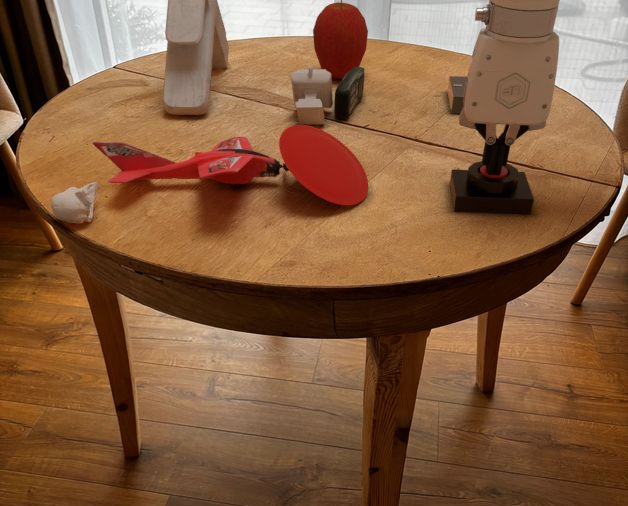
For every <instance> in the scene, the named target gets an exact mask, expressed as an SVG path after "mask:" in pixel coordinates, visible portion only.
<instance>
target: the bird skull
mask: <svg viewBox="0 0 628 506" xmlns="http://www.w3.org/2000/svg"><path fill="white" fill-rule="evenodd" d="M97 190H101V186H100V184H99V183H98V182H96V181H93V182H91V183H88V184H85V185H83V186H82V187H80V188H78V187H76V186H70V187H68V188H67V189H66V190H65V191H62V192H60V193H59V192H58V193H57V194H55V195H53V196H52V198H51V199H50V207H51V209H52V210H51V211H52V214H53V216H55V218H56V219H58V220H60V221H62V222H65V223H68V224H83V223H84V222H86V223H91V222H92V220H93V215H94V206H95V201H96V199H97V195H98V191H97Z"/></svg>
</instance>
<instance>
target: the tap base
mask: <svg viewBox="0 0 628 506" xmlns="http://www.w3.org/2000/svg"><path fill="white" fill-rule="evenodd" d="M466 80H467V76H458V75H455V76H453V75H450V76H449V77H448V85H447V98H448V105H449V109H450V114H452V115H460V113H461V111H462V108H463V106H464V105H463V97H464V90H465V85H466Z"/></svg>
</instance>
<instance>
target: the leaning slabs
mask: <svg viewBox="0 0 628 506" xmlns="http://www.w3.org/2000/svg"><path fill="white" fill-rule="evenodd" d="M165 21H166V22H165V31H164V34H165V40H166V42H167V43H166V56H165V66H164V67H165V68H164V79H163V90H162V91H163V92H162V100H161V101H162V105H163V109H164V110H165V111H166V112H167V114H170V115H175V116H177V115H178V116H180V115H181V116H201V115H204V114H205V113H207V111H208V110H209V107H210V96H211V85H212V69H228V68H229V67H228V65H229V50H230V45H229V42H228V39H227V31H226V27H225V24H224V21H223V17H222V13H221V9H220V5H219V2H218V0H167V9H166V20H165Z"/></svg>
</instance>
